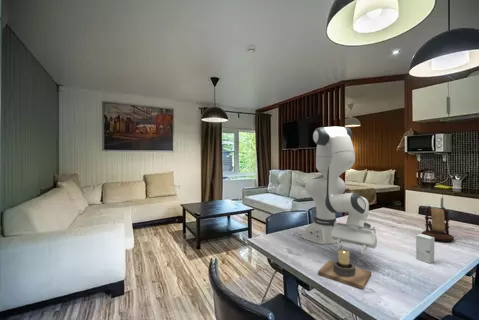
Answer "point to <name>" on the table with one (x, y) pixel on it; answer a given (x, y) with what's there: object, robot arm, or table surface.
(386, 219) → the table surface
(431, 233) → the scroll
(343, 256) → the cylinder
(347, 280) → the ring holder
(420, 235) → the skincare box
